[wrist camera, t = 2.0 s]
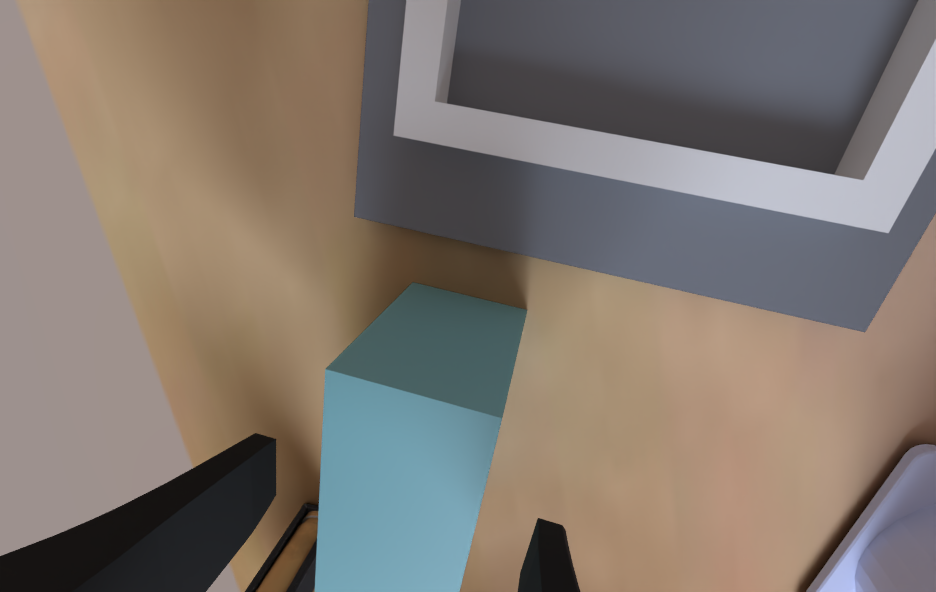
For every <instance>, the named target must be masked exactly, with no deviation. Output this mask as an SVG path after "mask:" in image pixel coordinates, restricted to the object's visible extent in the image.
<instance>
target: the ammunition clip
mask: <svg viewBox="0 0 936 592" xmlns="http://www.w3.org/2000/svg"><path fill="white" fill-rule="evenodd" d="M318 512H319V506H316V505H310V504H305V503H304V505H303V506H302V508H301V509H300V511H299V512H298V514H297V515H296V517H295V518H294V520H293V521H292V523H291V524H290V526H289V527H288V528H287V530H286V531H285V533H284V534H283V536H282V537H281V539H280V540H279V542H278V543H277V545H276V546H275V548H274V549H273V551H272V552H271V554H270V555H269V557H268V558H267V560H266V561H265V563H264V564H263V566H262V567H261V568H260V570H259V571H258V573H257V574H256V576H255V577H254V579H253V580H252V582H251V583H250V585H249V586H248V588H247V589H246V591H245V592H315V574H316V553H317V533H318Z"/></svg>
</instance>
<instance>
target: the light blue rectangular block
mask: <svg viewBox="0 0 936 592" xmlns="http://www.w3.org/2000/svg"><path fill="white" fill-rule="evenodd" d="M526 314H527V310H525V309H521V308H517V307H513V306H509V305H505V304H500V303H496V302H492V301H488V300H484V299H480V298H476V297H472V296H467V295H463V294H459V293H455V292H451V291H447V290H443V289H439V288H435V287H430V286H426V285H422V284H418V283H414V282H413V283H412V284H411V285H410V286H409V287H408V288H407V289H406V290H405V291H404V292H403V293H402V294H401V295H400V296H399V297H398V298H397V299H396V300H394V301H393V302H392V303H391V304H390V305H389V306H388V307H387V308H386V309H385V310H384V311H383V312H382V313H381V314H380V315H379V316H378V317H377V318H376V319H375V320H374V321H373V322H372V323H371V324H370V325H369V326H368V327H367V328H366V329H365V330H364V331H363V332H362V333H361V334H360V335H359V336H358V337H357V338H356V339H355V340H354V341H353V342H352V343H351V344H350V345H349V346H348V347H347V348H346V349H345V350H344V351H343V352H342V353H341V354H340V355H339V356H338V357H337V358H336V359H335V360H334V361H333V362H332V363H331V364H330V365H329V366H328V367H327V368H326V369H325V389H324V410H323V430H322V451H321V471H320V492H319V512H318V533H317V553H316V574H315V592H459V591H460V587H461V583H462V579H463V575H464V571H465V567H466V563H467V559H468V555H469V551H470V547H471V542H472V538H473V534H474V530H475V526H476V522H477V518H478V514H479V510H480V506H481V502H482V498H483V494H484V490H485V486H486V482H487V478H488V474H489V469H490V465H491V461H492V457H493V453H494V449H495V445H496V441H497V437H498V433H499V429H500V425H501V421H502V417H503V412H504V408H505V404H506V399H507V395H508V391H509V387H510V382H511V378H512V374H513V369H514V365H515V361H516V357H517V352H518V348H519V344H520V339H521V335H522V331H523V326H524V322H525V318H526Z"/></svg>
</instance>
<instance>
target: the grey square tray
mask: <svg viewBox="0 0 936 592" xmlns="http://www.w3.org/2000/svg"><path fill="white" fill-rule="evenodd" d="M935 213H936V0H369V4H368V19H367V33H366V48H365V63H364V78H363V92H362V107H361V122H360V137H359V151H358V166H357V181H356V196H355V210H354V217H358V218H362V219H367V220H371V221H375V222H380V223H384V224H389V225H393V226H398V227H402V228H406V229H411V230H415V231H420V232H424V233H429V234H433V235H437V236H442V237H446V238H451V239H455V240H459V241H464V242H468V243H473V244H477V245H482V246H486V247H490V248H495V249H499V250H504V251H508V252H513V253H517V254H521V255H526V256H530V257H535V258H539V259H543V260H548V261H552V262H557V263H561V264H566V265H570V266H574V267H579V268H583V269H588V270H592V271H596V272H601V273H605V274H610V275H614V276H619V277H623V278H627V279H632V280H636V281H641V282H645V283H650V284H654V285H658V286H663V287H667V288H672V289H676V290H680V291H685V292H689V293H694V294H698V295H703V296H707V297H711V298H716V299H720V300H725V301H729V302H734V303H738V304H742V305H747V306H751V307H756V308H760V309H764V310H769V311H773V312H778V313H782V314H787V315H791V316H795V317H800V318H804V319H809V320H813V321H818V322H822V323H826V324H831V325H835V326H840V327H844V328H848V329H853V330H857V331H862V332H866V330H867V328H868V326H869V325H870V323H871V321H872V320H873V318H874V316H875V315H876V313H877V311H878V310H879V308H880V306H881V304H882V303H883V301H884V299H885V298H886V296H887V294H888V293H889V291H890V289H891V288H892V286H893V284H894V282H895V281H896V279H897V277H898V276H899V274H900V272H901V271H902V269H903V267H904V266H905V264H906V262H907V260H908V259H909V257H910V255H911V254H912V252H913V250H914V249H915V247H916V245H917V244H918V242H919V240H920V239H921V237H922V235H923V233H924V232H925V230H926V228H927V227H928V225H929V223H930V222H931V220H932V218H933V217H934V215H935Z"/></svg>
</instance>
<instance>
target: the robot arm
mask: <svg viewBox="0 0 936 592" xmlns="http://www.w3.org/2000/svg"><path fill="white" fill-rule="evenodd" d="M275 496H276V439H274V438H270V437H267V436H264V435H260V434H257V433H255V434H253V435H251V436H250V437H248V438H246V439H244V440H242V441H241V442H239V443H237V444H235V445H234V446H232V447H230V448H228V449H226V450H225V451H223V452H221V453H219V454H218V455H216V456H214V457H212V458H211V459H209V460H207V461H205V462H204V463H202V464H200V465H198V466H196V467H195V468H193V469H191V470H189V471H187V472H186V473H184V474H182V475H180V476H178V477H176V478H175V479H173V480H171V481H169V482H167V483H165V484H164V485H162V486H160V487H158V488H156V489H154V490H152V491H150V492H148V493H146V494H144V495H142V496H140V497H138V498H136V499H134V500H132V501H130V502H128V503H126V504H124V505H122V506H120V507H118V508H116V509H114V510H112V511H110V512H108V513H105V514H103V515H101V516H99V517H96V518H94V519H92V520H90V521H88V522H85V523H83V524H80V525H78V526H76V527H74V528H71V529H69V530H67V531H64V532H62V533H59V534H57V535H55V536H52V537H49V538H47V539H44V540H42V541H39V542H36V543H34V544H31V545H28V546H26V547H23V548H21V549H18V550H15V551H13V552H10V553H8V554H5V555H2V556H0V592H206V591H207V590H208V588H209V587H210V586H211V585H212V583H213V582H214V581H215V580H216V578H217V577H218V576H219V575H220V573H221V572H222V571H223V569H224V568H225V567H226V566H227V564H228V563H229V562H230V561H231V559H232V558H233V557H234V556H235V554H236V553H237V552H238V550H239V549H240V548H241V547H242V545H243V544H244V543H245V542H246V540H247V539H248V538H249V536H250V535H251V534H252V532H253V531H254V529H255V528H256V526H257V525H258V523H259V522H260V520H261V519H262V517H263V515H264V514H265V512H266V511H267V509H268V507H269V506H270V504H271V502H272V501H273V499H274V497H275ZM518 592H580V589H579V586H578V582H577V578H576V575H575V571H574V567H573V563H572V559H571V555H570V551H569V546H568V541H567V536H566V530H565V529H564V527H563V526H562V525H560V524H556V523H553V522H550V521H546V520H543V519H540V518H538V520H537V523H536V526H535V529H534V532H533V535H532V538H531V542H530V545H529V548H528V551H527V554H526V557H525V560H524V563H523V566H522V569H521V573H520V580H519V587H518ZM806 592H936V445H930V444H923V445H917V446H915V447H912V448H910V449H909V450H908V451H907V452H906V453H905V455H904V456H903V457H902V459H901V460H900V462H899V463H898V464H897V466H896V467H895V468H894V470H893V471H892V473H891V474H890V475H889V477H888V478H887V480H886V481H885V482H884V484H883V485H882V487H881V488H880V489H879V491H878V492H877V493H876V495H875V496H874V498H873V499H872V500H871V502H870V503H869V505H868V506H867V507H866V509H865V510H864V512H863V513H862V514H861V516H860V517H859V518H858V520H857V521H856V523H855V524H854V525H853V527H852V528H851V530H850V531H849V532H848V534H847V535H846V537H845V538H844V539H843V541H842V542H841V543H840V545H839V546H838V548H837V549H836V550H835V552H834V553H833V555H832V556H831V557H830V559H829V560H828V562H827V563H826V564H825V566H824V567H823V568H822V570H821V571H820V573H819V574H818V575H817V577H816V578H815V580H814V581H813V582H812V584H811V585H810V587H809V588H808V589H807V591H806Z"/></svg>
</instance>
